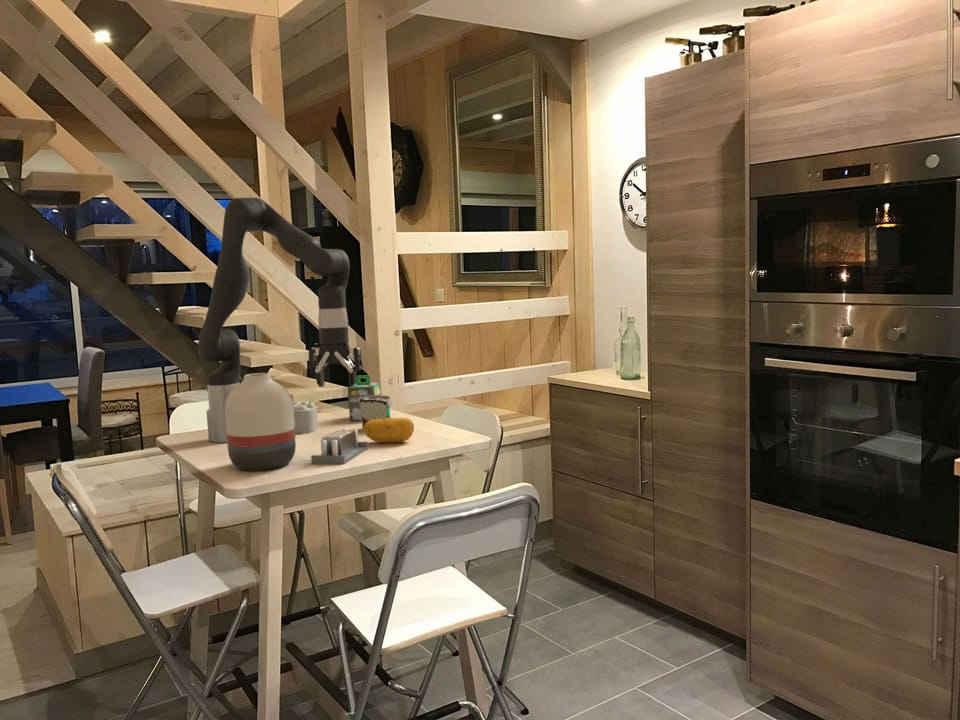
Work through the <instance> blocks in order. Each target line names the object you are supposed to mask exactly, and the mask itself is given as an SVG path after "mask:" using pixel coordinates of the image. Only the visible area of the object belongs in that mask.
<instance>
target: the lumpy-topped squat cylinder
mask: <svg viewBox="0 0 960 720" xmlns="http://www.w3.org/2000/svg"><path fill="white" fill-rule="evenodd" d="M293 409H294V424H295V435H298V434H297V433H306V434H312V433H314V431H315V430H316V431H318V429H319V424H318V423H319V421H318V409H317V405H316V404H315V403H314V402H310V403H309V401H307V400H305V401H304V402H302V403H301V402H300V401H295V402H293ZM317 428H318V429H317ZM316 431H315V432H316ZM311 432H312V433H311Z"/></svg>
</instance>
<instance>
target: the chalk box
mask: <svg viewBox="0 0 960 720" xmlns="http://www.w3.org/2000/svg"><path fill="white" fill-rule="evenodd" d="M361 379H365V381H363V382H362V381H361ZM372 395H381V389H380V382H379V381H378V382H371V377H370V375H369V374H366V375H365V374H364V375H362V374H359V375H356V384H354V386H353V387H349V386H348V387H347V398H348V411H349V421H350V420H353V421H362V420H361V412H360V405H359V404H358V399H359V397H363V396H372Z"/></svg>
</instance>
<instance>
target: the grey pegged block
mask: <svg viewBox="0 0 960 720" xmlns="http://www.w3.org/2000/svg"><path fill="white" fill-rule="evenodd" d="M341 431H348V429H347V428H342V429H341ZM351 431H355V432H356V449H355V450H354V451H352V452H350V453H349V454H347V455H345V456H340V455H338V447H337V440H332V455H327V444H326V440H322V439H321V440H320V448H321V449H320V451H321V454H319V455H318V454H312V455H311V457H310V459H311V461H310V462H311V464H317V463H320V464H323V465H324V464H327V465H330V464H331V465H332V464H333V465H344V464H346V463H348V462H350V461H351V460H353V459H354V458H356V457H358V456H359V455H360V453H361V454H362V453H364V452H365V451H367V450H368V448H369V446H368V441H358V440H359V438H358V428H352V429H351ZM366 449H367V450H366ZM363 451H364V452H363Z"/></svg>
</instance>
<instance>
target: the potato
mask: <svg viewBox="0 0 960 720" xmlns="http://www.w3.org/2000/svg"><path fill="white" fill-rule="evenodd" d="M414 426H415V425H414V422H413V421H412V420H411V419H410V418H404V417H398V418H397V417H396V418H395V417H390V418H383V419H373V420H370V421H368V422H367V423H365V425H364V429H363V432H364V434H365V436H366V437H367V438H369V439H370V440H372V441H373V442H378V443H380V444H394V443H395V444H396V443H401V442H402V443H404V442H405V441H408V440H409V439H410V438H411V437H412V436H413V434H414V433H413V432H414V430H415V427H414Z"/></svg>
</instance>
